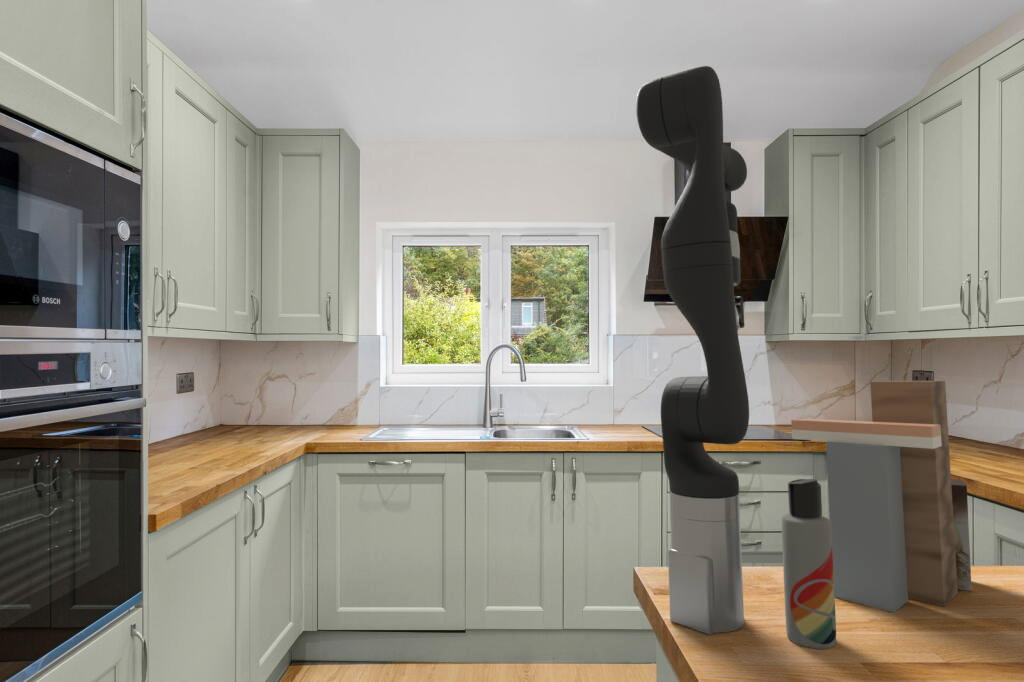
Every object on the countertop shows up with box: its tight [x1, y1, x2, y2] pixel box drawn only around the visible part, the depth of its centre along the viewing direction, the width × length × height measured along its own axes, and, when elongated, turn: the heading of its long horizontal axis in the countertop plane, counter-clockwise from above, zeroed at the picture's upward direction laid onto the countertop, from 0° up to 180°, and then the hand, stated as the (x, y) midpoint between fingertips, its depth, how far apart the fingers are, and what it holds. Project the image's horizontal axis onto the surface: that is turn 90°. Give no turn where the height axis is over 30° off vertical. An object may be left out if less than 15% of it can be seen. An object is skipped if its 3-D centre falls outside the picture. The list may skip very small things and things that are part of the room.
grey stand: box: [825, 441, 909, 613], centre depth 88 cm, size 6×8×23 cm
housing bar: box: [790, 418, 942, 449], centre depth 89 cm, size 4×19×3 cm, turn 40°
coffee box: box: [951, 478, 973, 592], centre depth 95 cm, size 9×6×16 cm
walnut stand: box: [869, 380, 959, 607], centre depth 90 cm, size 7×8×32 cm
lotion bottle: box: [781, 478, 837, 650], centre depth 75 cm, size 6×6×20 cm
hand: (719, 347), depth 105 cm, fingers open, 8 cm apart
